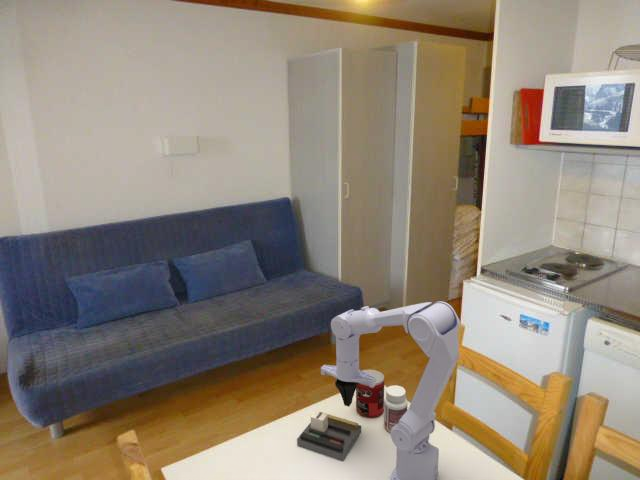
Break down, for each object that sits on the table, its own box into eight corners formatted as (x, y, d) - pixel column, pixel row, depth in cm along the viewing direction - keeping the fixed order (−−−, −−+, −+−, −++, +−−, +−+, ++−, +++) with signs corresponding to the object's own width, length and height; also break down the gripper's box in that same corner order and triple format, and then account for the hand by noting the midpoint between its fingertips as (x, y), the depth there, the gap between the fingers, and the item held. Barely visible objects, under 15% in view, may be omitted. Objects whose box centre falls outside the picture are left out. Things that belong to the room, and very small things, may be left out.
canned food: (352, 405, 138) (351, 372, 135) (377, 399, 140) (377, 367, 137) (362, 421, 131) (362, 386, 128) (388, 415, 133) (388, 380, 130)
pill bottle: (411, 428, 127) (412, 392, 124) (394, 437, 124) (395, 400, 121) (396, 417, 132) (396, 381, 129) (379, 425, 129) (379, 389, 126)
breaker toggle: (327, 427, 125) (327, 413, 124) (323, 433, 123) (322, 420, 122) (316, 423, 127) (315, 410, 126) (311, 429, 125) (310, 416, 123)
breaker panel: (361, 432, 126) (361, 422, 126) (342, 461, 116) (342, 451, 115) (318, 419, 132) (318, 409, 131) (297, 445, 122) (296, 435, 121)
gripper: (380, 355, 119) (379, 402, 122) (328, 344, 125) (329, 389, 129) (370, 369, 113) (369, 418, 116) (316, 356, 119) (317, 403, 123)
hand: (348, 403), depth 122 cm, fingers closed
